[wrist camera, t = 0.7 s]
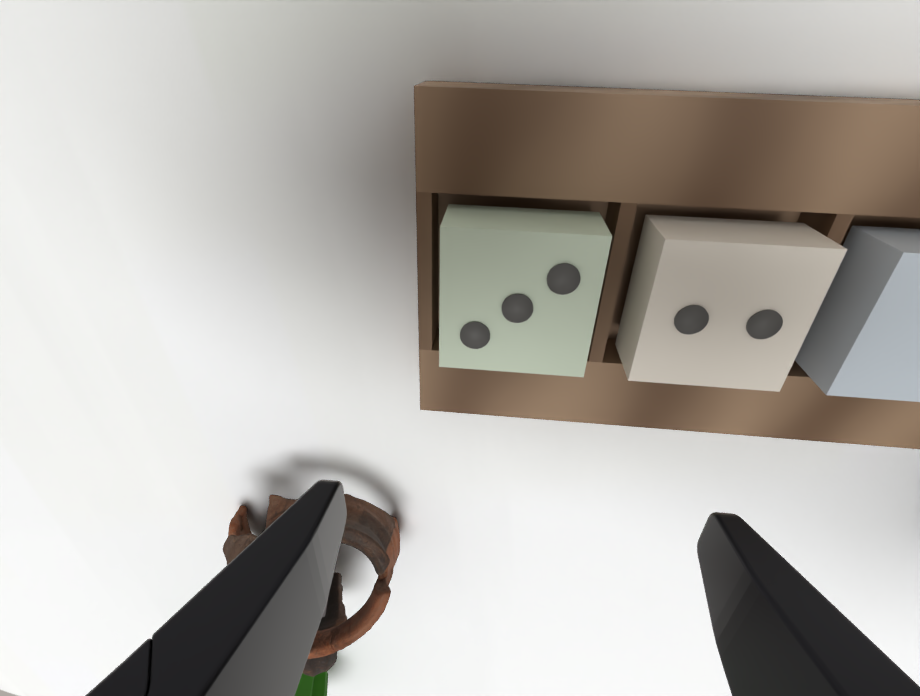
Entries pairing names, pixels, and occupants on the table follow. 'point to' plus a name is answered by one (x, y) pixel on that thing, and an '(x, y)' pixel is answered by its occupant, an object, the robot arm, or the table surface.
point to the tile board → (671, 194)
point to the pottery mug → (365, 533)
